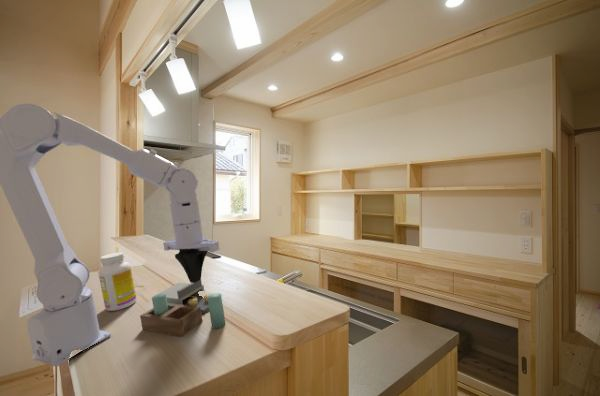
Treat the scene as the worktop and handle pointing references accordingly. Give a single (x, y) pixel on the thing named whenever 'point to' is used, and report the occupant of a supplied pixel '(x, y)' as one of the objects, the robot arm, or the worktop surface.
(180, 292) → the housing
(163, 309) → the pin seated
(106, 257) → the supplement bottle
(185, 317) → the socket strip
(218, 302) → the pin loose
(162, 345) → the worktop surface
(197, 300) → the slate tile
